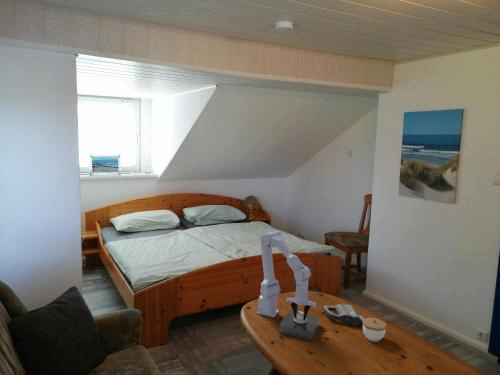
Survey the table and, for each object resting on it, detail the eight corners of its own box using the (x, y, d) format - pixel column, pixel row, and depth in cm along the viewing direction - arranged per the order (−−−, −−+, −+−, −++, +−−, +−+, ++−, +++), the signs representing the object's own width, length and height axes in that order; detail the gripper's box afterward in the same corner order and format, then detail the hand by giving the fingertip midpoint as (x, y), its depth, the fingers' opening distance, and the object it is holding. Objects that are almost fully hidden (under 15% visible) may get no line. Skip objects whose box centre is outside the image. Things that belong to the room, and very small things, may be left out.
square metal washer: (279, 332, 181) (279, 324, 181) (288, 318, 196) (289, 310, 195) (311, 340, 175) (312, 332, 175) (319, 325, 190) (319, 317, 189)
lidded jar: (357, 333, 183) (358, 315, 182) (376, 331, 186) (378, 313, 184) (369, 345, 173) (370, 326, 171) (389, 343, 175) (391, 324, 174)
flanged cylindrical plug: (291, 325, 184) (291, 314, 183) (295, 319, 190) (296, 309, 189) (304, 328, 181) (305, 317, 180) (308, 322, 187) (308, 312, 186)
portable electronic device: (347, 309, 209) (348, 300, 208) (369, 327, 189) (369, 317, 188) (320, 312, 204) (321, 303, 203) (340, 331, 185) (340, 321, 184)
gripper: (284, 292, 182) (283, 318, 184) (314, 298, 177) (312, 325, 178) (289, 286, 188) (287, 312, 190) (317, 292, 183) (316, 318, 185)
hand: (300, 318), depth 185 cm, fingers closed on flanged cylindrical plug, 4 cm apart
